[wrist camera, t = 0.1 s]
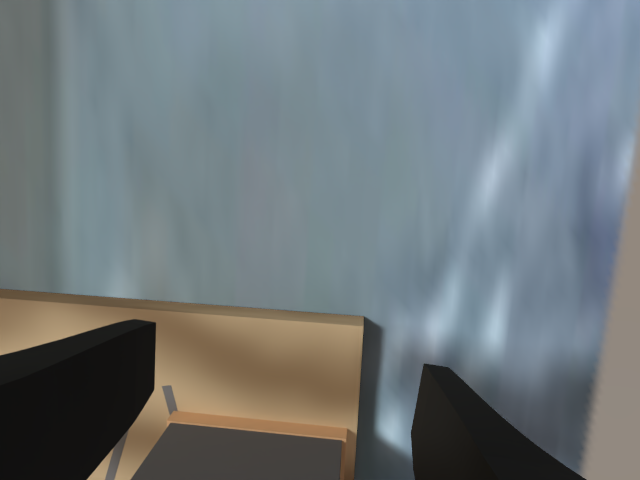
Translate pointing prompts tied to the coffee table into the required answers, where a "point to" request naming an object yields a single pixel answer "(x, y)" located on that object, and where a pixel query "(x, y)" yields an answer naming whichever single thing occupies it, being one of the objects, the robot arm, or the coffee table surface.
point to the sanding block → (244, 450)
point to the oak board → (211, 363)
